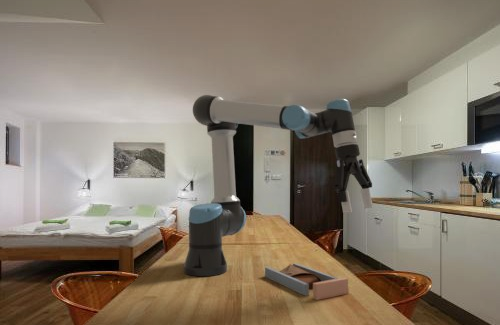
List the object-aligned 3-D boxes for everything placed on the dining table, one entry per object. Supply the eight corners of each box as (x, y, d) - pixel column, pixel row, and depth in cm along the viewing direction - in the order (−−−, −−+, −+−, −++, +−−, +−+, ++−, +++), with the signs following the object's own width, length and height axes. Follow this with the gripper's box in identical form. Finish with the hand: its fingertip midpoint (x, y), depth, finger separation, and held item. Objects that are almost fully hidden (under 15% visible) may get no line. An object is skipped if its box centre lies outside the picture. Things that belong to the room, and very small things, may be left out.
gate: (316, 300, 89) (316, 284, 89) (313, 298, 90) (312, 282, 91) (348, 293, 94) (347, 278, 94) (344, 291, 95) (343, 277, 96)
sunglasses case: (269, 275, 112) (278, 257, 114) (285, 284, 115) (293, 266, 116) (298, 291, 96) (308, 269, 98) (316, 301, 98) (325, 279, 100)
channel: (305, 295, 92) (305, 284, 92) (264, 276, 112) (264, 267, 112) (339, 289, 98) (339, 278, 98) (295, 271, 117) (295, 263, 118)
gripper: (335, 141, 100) (349, 213, 97) (374, 144, 117) (386, 204, 114) (314, 147, 105) (327, 215, 102) (354, 149, 122) (366, 207, 119)
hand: (358, 210), depth 108 cm, fingers open, 13 cm apart
